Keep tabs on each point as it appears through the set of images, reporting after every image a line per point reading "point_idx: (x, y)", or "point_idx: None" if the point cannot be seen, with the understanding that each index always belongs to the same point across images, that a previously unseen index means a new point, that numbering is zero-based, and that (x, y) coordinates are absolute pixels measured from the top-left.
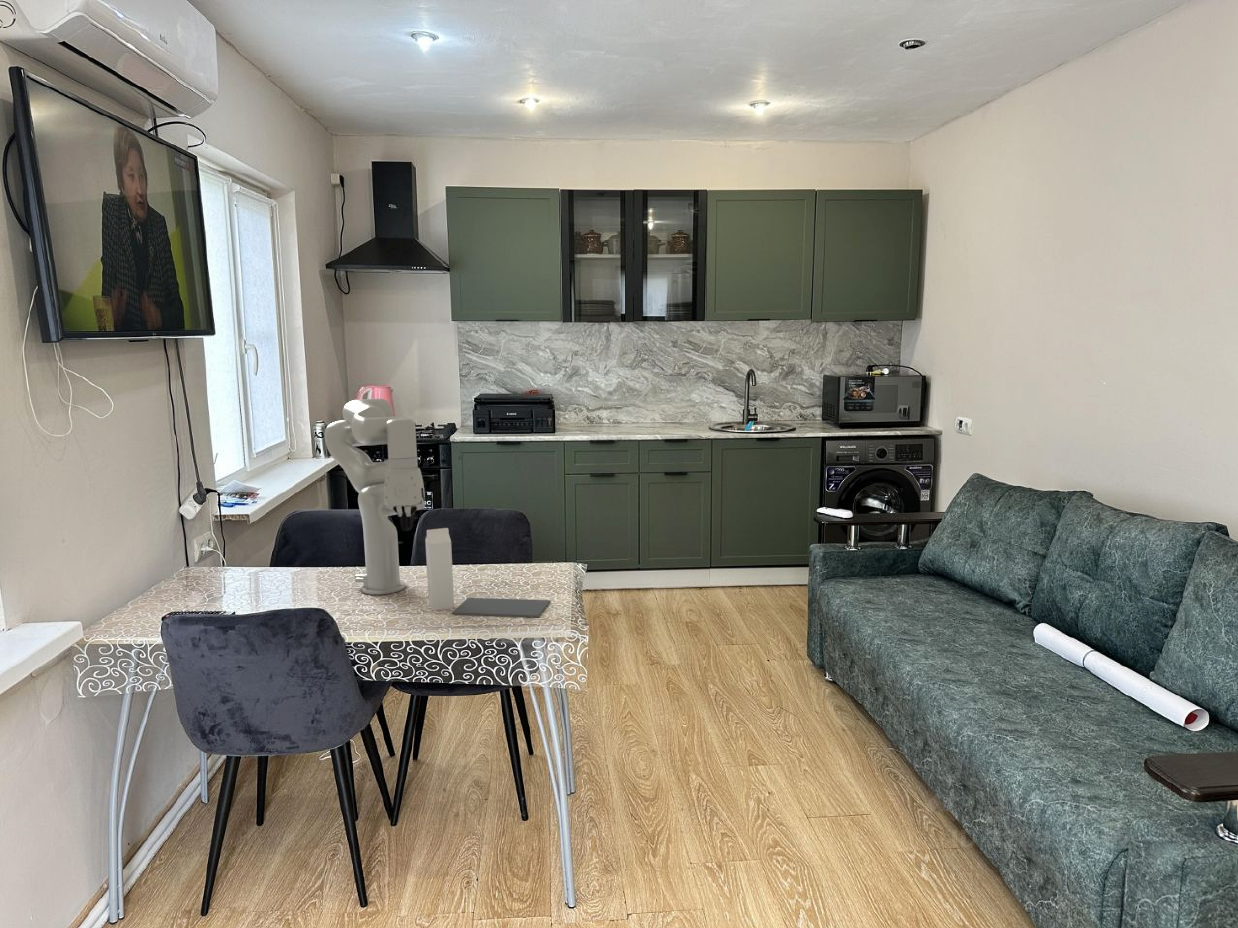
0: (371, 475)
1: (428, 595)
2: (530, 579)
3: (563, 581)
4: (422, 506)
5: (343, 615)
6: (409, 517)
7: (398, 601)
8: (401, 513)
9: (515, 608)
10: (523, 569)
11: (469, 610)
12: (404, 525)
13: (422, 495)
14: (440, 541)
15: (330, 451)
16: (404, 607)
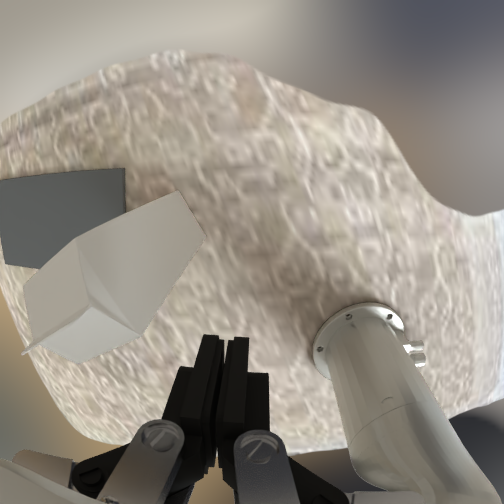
0: None
1: (199, 239)
2: (86, 384)
3: (41, 365)
4: (18, 464)
5: (394, 151)
6: (168, 422)
7: (297, 260)
8: (239, 456)
9: (27, 212)
10: (126, 428)
11: (91, 188)
12: (225, 366)
13: None
14: (44, 272)
15: None
16: (263, 213)
